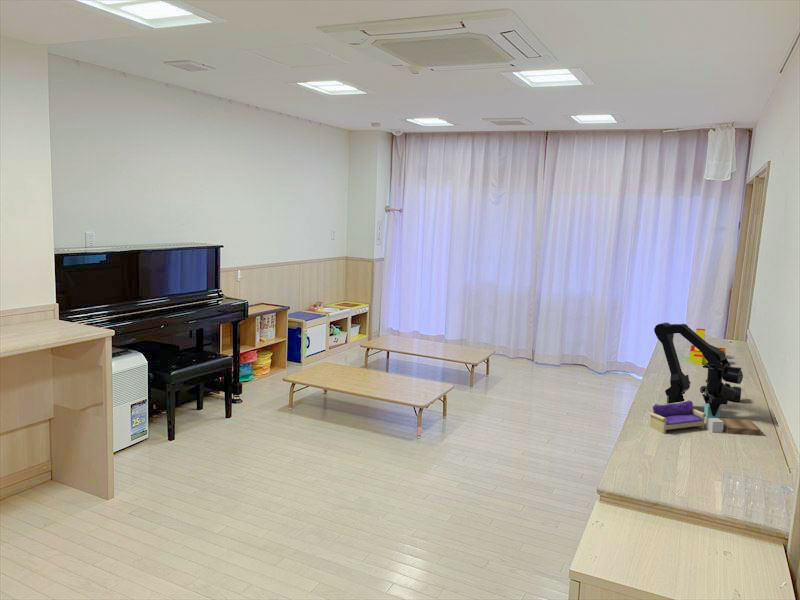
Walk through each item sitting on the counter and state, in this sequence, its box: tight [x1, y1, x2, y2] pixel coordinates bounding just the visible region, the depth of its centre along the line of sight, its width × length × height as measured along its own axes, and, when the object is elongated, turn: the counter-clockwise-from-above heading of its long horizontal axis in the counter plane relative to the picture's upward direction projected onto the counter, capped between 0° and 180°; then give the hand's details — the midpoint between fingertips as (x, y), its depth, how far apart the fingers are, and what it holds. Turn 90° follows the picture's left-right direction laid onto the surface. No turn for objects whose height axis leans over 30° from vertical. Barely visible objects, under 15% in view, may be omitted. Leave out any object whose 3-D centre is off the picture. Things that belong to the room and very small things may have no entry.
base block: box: [719, 417, 761, 437], centre depth 250 cm, size 12×12×3 cm
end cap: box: [723, 385, 742, 403], centre depth 289 cm, size 10×7×7 cm
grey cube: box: [705, 417, 724, 433], centre depth 249 cm, size 4×4×4 cm
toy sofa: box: [649, 399, 706, 434], centre depth 251 cm, size 21×9×10 cm, turn 106°
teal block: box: [703, 402, 721, 419], centre depth 265 cm, size 5×5×5 cm
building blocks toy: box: [688, 328, 727, 366], centre depth 366 cm, size 19×25×18 cm
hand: (712, 414), depth 265 cm, fingers closed on teal block, 5 cm apart
